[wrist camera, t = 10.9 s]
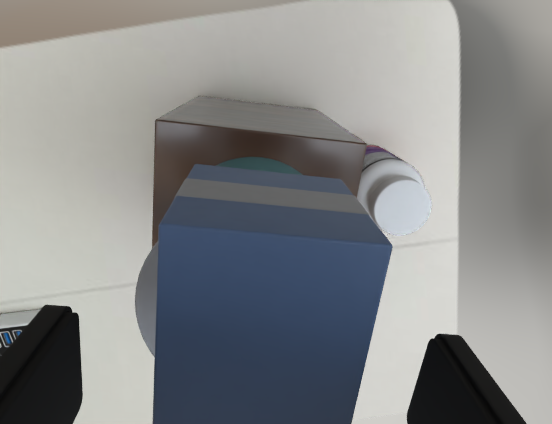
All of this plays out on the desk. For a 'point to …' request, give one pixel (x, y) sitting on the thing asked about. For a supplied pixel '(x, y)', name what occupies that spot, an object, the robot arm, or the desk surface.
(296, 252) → the block
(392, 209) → the pill bottle
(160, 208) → the walnut crate
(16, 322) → the multiport hub
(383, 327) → the desk surface
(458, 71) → the desk surface
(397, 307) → the desk surface
